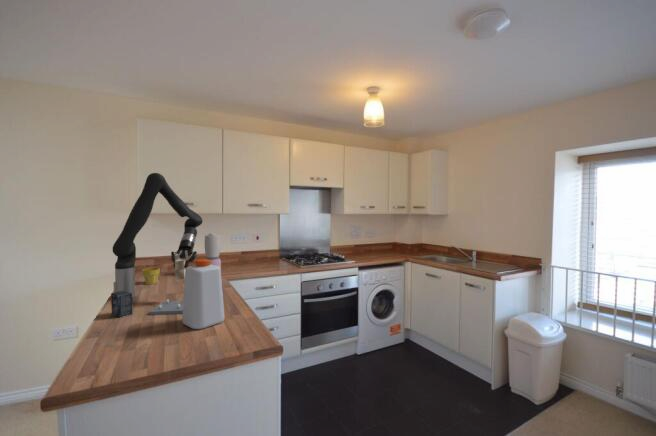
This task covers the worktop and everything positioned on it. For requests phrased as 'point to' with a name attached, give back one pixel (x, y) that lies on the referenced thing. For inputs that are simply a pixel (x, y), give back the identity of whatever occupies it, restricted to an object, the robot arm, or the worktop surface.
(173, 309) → the locating plate
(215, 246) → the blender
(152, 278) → the plant pot
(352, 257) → the worktop surface
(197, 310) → the plastic bottle
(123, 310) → the box
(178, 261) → the birch block
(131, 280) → the robot arm
